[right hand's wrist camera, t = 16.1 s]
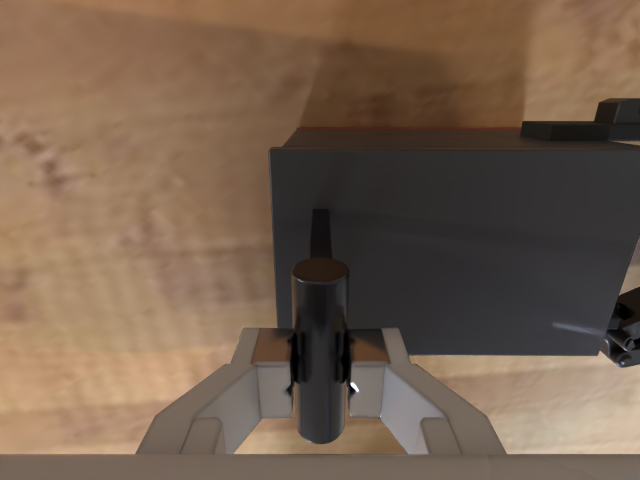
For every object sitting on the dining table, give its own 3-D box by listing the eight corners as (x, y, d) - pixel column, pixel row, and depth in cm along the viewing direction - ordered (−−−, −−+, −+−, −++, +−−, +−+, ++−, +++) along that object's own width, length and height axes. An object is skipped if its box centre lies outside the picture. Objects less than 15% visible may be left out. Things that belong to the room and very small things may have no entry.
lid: (280, 344, 19) (255, 496, 12) (271, 146, 15) (225, 191, 8) (586, 345, 19) (749, 498, 12) (650, 146, 15) (948, 192, 8)
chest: (300, 259, 29) (288, 342, 19) (297, 127, 25) (281, 146, 15) (496, 260, 29) (585, 344, 19) (522, 127, 25) (650, 146, 15)
